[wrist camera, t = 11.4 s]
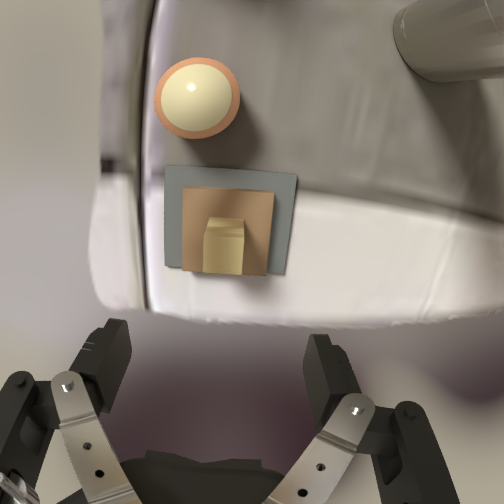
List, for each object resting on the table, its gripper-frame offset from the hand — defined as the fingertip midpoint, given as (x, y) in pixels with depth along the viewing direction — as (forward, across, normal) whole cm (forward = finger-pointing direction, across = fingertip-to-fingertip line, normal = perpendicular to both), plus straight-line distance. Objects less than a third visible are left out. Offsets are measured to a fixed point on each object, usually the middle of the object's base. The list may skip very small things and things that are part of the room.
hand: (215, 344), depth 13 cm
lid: (+17, 0, +1) cm, 17 cm away
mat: (+18, 0, 0) cm, 18 cm away
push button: (+18, +3, -11) cm, 21 cm away
